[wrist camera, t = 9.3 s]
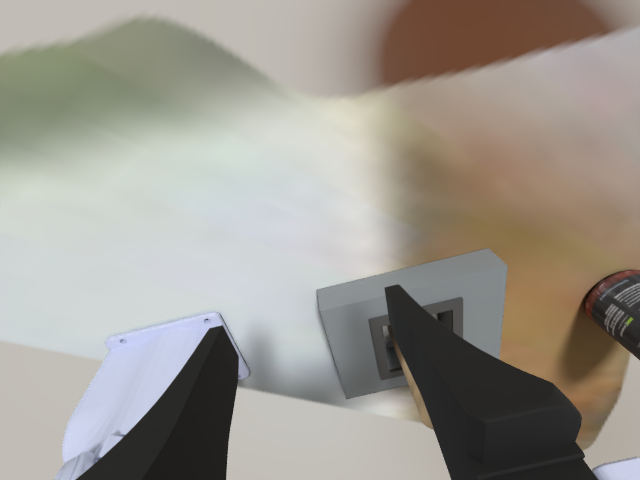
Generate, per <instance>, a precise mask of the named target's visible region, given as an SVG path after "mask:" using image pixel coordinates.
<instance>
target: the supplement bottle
mask: <svg viewBox="0 0 640 480" xmlns="http://www.w3.org/2000/svg"><path fill="white" fill-rule="evenodd" d="M585 310H586V313H587V315H588V316H589V317H590V318H591V319H592V320H593V321H594V322H595V323H597V325H599V326H600V327H601V328H602V329H603V330H605V331H606V332H607V333H608V334H609V335H610V336H612V337H613V338H614V339H615V340H616V341H618V342H619V343H620V344H621V345H622V346H624V347H625V348H626V349H627V350H628V351H630V352H631V353H632V354H633V355H634V356H635V357H637V358H638V359H639V360H640V270H626V271H621V272H619V273H616V274H614V275H611V276H609V277H608V278H606V279H604V280H602V281H601V282H600V283H599V284H598V285H597V286H596V287H595V288H594V289H593V290H592V291H591V292H590V294H589V296H588V298H587V300H586V303H585Z"/></svg>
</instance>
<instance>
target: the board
mask: <svg viewBox="0 0 640 480" xmlns="http://www.w3.org/2000/svg"><path fill="white" fill-rule="evenodd" d="M507 267H508V266H507V265H506V264H505V263H504V262H503V261H502V260H501V259H500V258H499V257H498V256H496V255H495V254H494V253H493V252H492V251H491V250H490V249H489V248H487V249H483V250H479V251H475V252H471V253H466V254H462V255H458V256H454V257H450V258H446V259H442V260H438V261H433V262H429V263H425V264H421V265H417V266H413V267H409V268H405V269H401V270H396V271H392V272H388V273H384V274H380V275H376V276H372V277H368V278H363V279H359V280H355V281H351V282H347V283H343V284H339V285H335V286H330V287H326V288H322V289H318V290H317V296H318V303H319V311H320V314H321V317H322V321H323V324H324V327H325V331H326V334H327V337H328V340H329V344H330V347H331V350H332V353H333V357H334V360H335V363H336V367H337V370H338V373H339V376H340V380H341V383H342V386H343V389H344V393H345V396H346V399H350V398H354V397H358V396H363V395H367V394H371V393H376V392H380V391H384V390H389V389H393V388H397V387H401V386H406V385H408V382H407V380H406V377H405V375H404V372H403V369H402V367H401V364H400V361H399V359H398V356H397V353H396V351H395V348H394V347H391V348H387V349H386V346H384V340H383V335H382V329H381V327H382V326H386V325H390V322H389V316H388V309H387V303H386V296H385V289H384V287H388V286H393V285H397V284H399V285H400V286H401V287H402V288H403V289H404V290H405V291H406V292H407V293H408V294H409V295H410V296H411V297H412V298H413V299H414V300H415V301H416V302H417V303H418V304H419V305H420V306H422V307H423V308H424V309H425V310H426V311H427V312H428V313H430V314H431V315H432V314H436V313H439V322H441V323H442V324H443V325H445V326H446V327H447V328H448V329H450V330H451V331H453V332H454V333H455V334H457V335H458V336H460V337H461V338H463V339H464V340H466V341H467V342H469V343H471V344H472V345H474V346H476V347H477V348H479V349H481V350H482V351H484V352H486V353H488V354H490V355H492V356H493V357H495V358H497V359H499V356H500V345H501V334H502V323H503V312H504V301H505V290H506V278H507Z"/></svg>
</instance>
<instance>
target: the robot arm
mask: <svg viewBox="0 0 640 480" xmlns="http://www.w3.org/2000/svg"><path fill="white" fill-rule="evenodd" d="M384 289H385V296H386V303H387V309H388V316H389V322H390V325H391V328H392V331H393V334H394V337H395V340H396V343H397V345H398V347H399V349H400V351H401V353H402V355H403V358H404V360H405V362H406V364H407V366H408V368H409V370H410V372H411V374H412V376H413V379H414V381H415V383H416V385H417V387H418V389H419V391H420V394H421V396H422V398H423V401H424V404H425V406H426V409H427V412H428V415H429V417H430V420H431V423H432V426H433V428H434V431H435V434H436V437H437V439H438V442H439V445H440V448H441V451H442V454H443V457H444V460H445V462H446V465H447V468H448V471H449V474H450V477H451V480H640V457H633V458H628V459H623V460H618V461H614V462H609V463H605V464H602V465H599V466H597V467H595V468H593V470H592V471H591V469H590V468H589V467H588V465H587V464H586V463H585V461H584V460H583V458H584V457H585V455H584V453H583V451H582V450H581V449H580V447H579V446H578V445H577V443H576V442H575V441H576V438H577V435H578V432H579V430H580V427H581V420H582V417H581V414H580V412H579V411H578V410H577V409H576V407H575V406H574V405H573V404H572V403H571V401H570V400H569V399H568V398H567V397H566V396H565V395H564V394H563V393H562V392H561V391H560V390H559V389H558V388H557V387H556V386H555V385H554V384H553V383H551V382H549V381H546V380H544V379H541V378H539V377H537V376H534V375H532V374H529V373H527V372H524V371H522V370H520V369H517V368H515V367H513V366H511V365H509V364H507V363H505V362H503V361H501V360H499V359H497V358H495V357H493V356H492V355H490V354H488V353H486V352H484V351H482V350H481V349H479V348H477V347H476V346H474V345H472V344H471V343H469V342H467V341H466V340H464V339H463V338H461V337H460V336H458V335H457V334H455V333H454V332H453V331H451V330H450V329H448V328H447V327H446V326H445V325H443V324H442V323H441V322H439V321H438V320H437V319H436V318H434V317H433V316H432V315H431V314H430V313H428V312H427V311H426V310H425V309H424V308H423V307H422V306H420V305H419V304H418V303H417V302H416V301H415V300H414V299H413V298H412V297H411V296H410V295H409V294H408V293H407V292H406V291H405V290H404V289H403V288H402V287H401V286H400V285H399V284H397V285H393V286H388V287H384ZM206 319H210V320H206ZM123 339H124V340H123ZM105 345H106V346H107V348H108V349H109V350H110V351H109V353H108V355H107V356H106V358H105V360H104V361H103V363H102V365H101V366H100V368H99V370H98V371H97V373H96V375H95V376H94V378H93V380H92V381H91V383H90V385H89V387H88V388H87V390H86V392H85V393H84V395H83V397H82V398H81V400H80V402H79V403H78V405H77V407H76V408H75V410H74V412H73V413H72V415H71V417H70V419H69V422H68V424H67V427H66V431H65V435H64V440H63V448H62V456H63V462H64V465H63V466H62V468H61V469H60V471H59V472H58V473H57V475H56V477H55V478H54V480H226V469H227V454H228V441H229V433H230V426H231V420H232V414H233V408H234V402H235V396H236V390H237V383H238V380H239V379H244V378H247V377H248V376H249V369H248V367H247V365H246V364H245V362H244V360H243V358H242V356H241V354H240V352H239V350H238V348H237V346H236V345H235V343H234V341H233V339H232V337H231V335H230V333H229V331H228V329H227V327H226V325H225V324H224V322H223V320H222V318H221V316H220V314H219V313H217V312H211V313H207V314H202V315H198V316H194V317H190V318H186V319H182V320H178V321H174V322H169V323H165V324H161V325H157V326H153V327H149V328H145V329H141V330H137V331H132V332H128V333H124V334H120V335H116V336H112V337H109V338H107V340H106V341H105Z"/></svg>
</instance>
